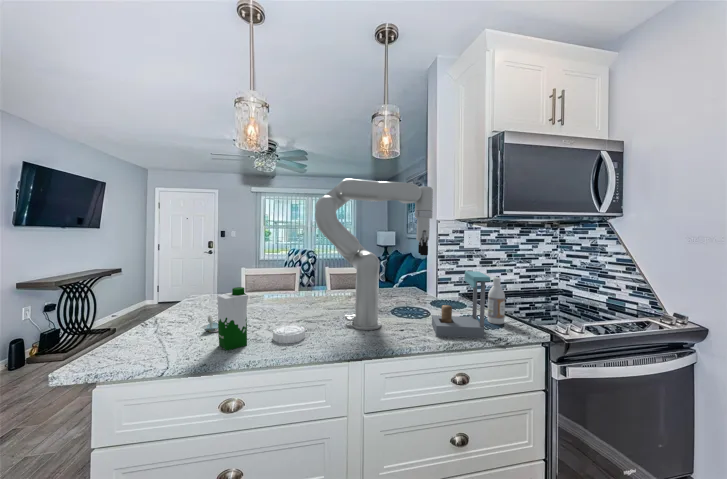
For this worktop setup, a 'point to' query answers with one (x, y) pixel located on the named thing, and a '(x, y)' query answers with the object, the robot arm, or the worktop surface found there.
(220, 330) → the milk carton
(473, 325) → the socket block
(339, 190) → the robot arm
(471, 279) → the teal-topped post gate
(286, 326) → the mooncake
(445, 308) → the peg
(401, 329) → the worktop surface
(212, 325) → the pacifier
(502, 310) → the bath foam
